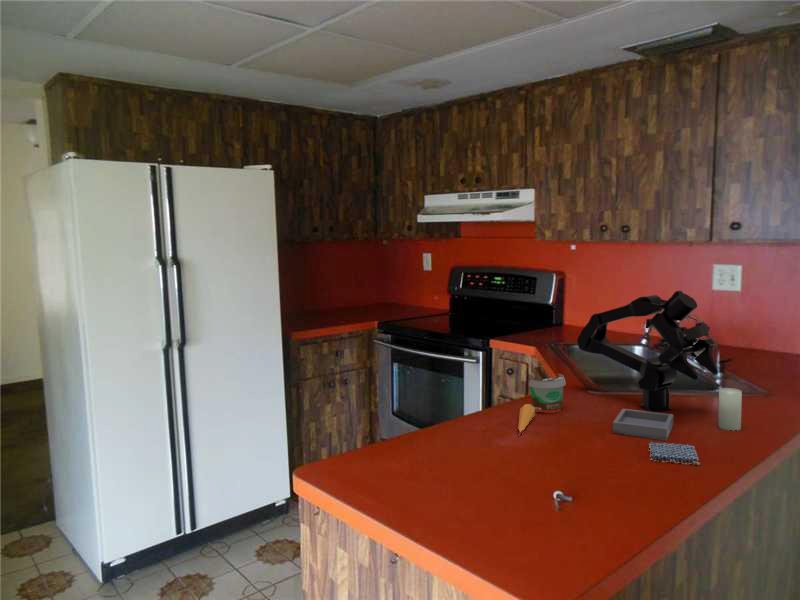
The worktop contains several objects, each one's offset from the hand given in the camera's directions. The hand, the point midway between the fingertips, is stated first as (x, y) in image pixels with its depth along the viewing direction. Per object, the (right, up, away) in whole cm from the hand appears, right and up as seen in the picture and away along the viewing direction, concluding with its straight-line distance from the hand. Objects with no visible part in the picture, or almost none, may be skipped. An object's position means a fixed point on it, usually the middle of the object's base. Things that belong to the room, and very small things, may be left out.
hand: (706, 376), depth 160 cm
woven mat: (-19, -17, -21) cm, 33 cm away
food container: (-38, -13, +16) cm, 43 cm away
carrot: (-49, -15, +3) cm, 52 cm away
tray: (-18, -14, -3) cm, 23 cm away
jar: (+4, -13, -4) cm, 14 cm away
